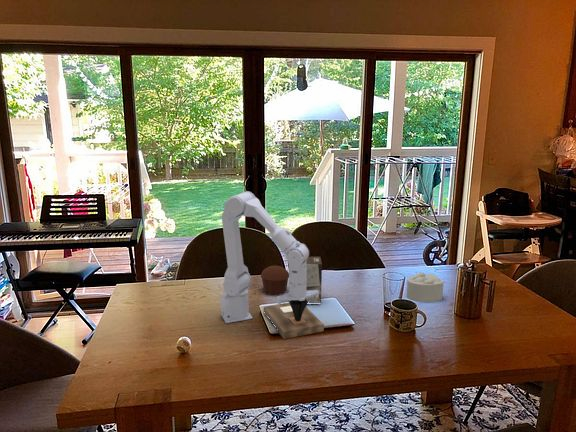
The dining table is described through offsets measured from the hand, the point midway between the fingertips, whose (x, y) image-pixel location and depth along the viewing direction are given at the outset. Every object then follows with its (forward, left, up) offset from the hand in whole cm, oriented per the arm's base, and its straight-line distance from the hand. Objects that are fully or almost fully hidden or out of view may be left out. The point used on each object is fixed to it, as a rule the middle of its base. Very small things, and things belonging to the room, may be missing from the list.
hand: (297, 320), depth 149 cm
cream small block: (0, +9, -2) cm, 9 cm away
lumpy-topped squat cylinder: (+55, +6, -3) cm, 56 cm away
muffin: (+4, +33, -3) cm, 33 cm away
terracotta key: (0, 0, -2) cm, 2 cm away
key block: (0, +5, -3) cm, 5 cm away
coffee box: (+14, +19, -3) cm, 23 cm away
